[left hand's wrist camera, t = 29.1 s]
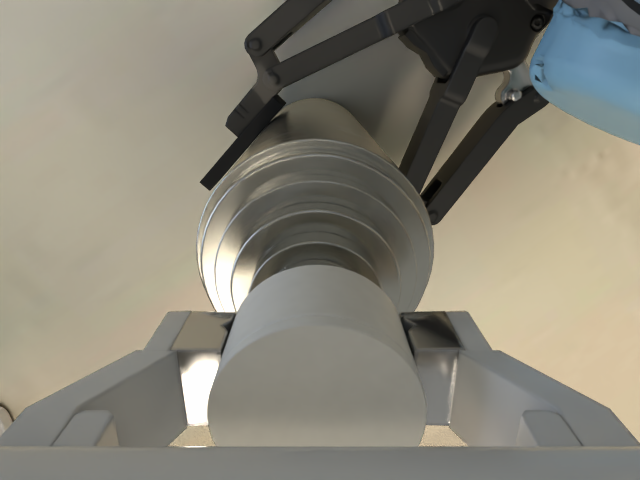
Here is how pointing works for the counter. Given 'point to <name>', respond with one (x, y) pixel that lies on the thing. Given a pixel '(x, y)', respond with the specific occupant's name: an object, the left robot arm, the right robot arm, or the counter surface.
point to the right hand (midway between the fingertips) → (262, 225)
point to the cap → (317, 366)
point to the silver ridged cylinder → (314, 210)
